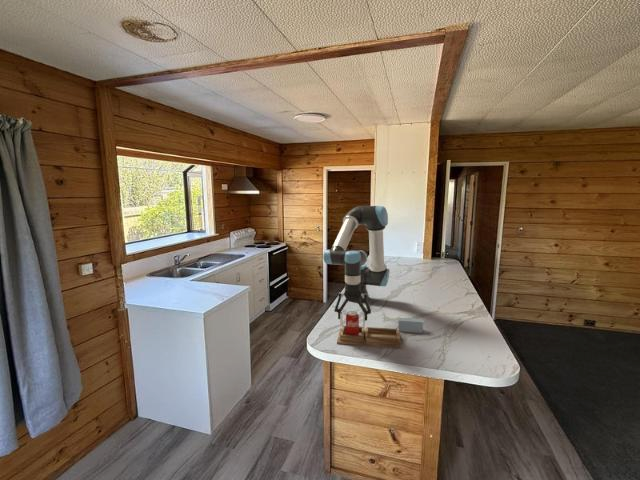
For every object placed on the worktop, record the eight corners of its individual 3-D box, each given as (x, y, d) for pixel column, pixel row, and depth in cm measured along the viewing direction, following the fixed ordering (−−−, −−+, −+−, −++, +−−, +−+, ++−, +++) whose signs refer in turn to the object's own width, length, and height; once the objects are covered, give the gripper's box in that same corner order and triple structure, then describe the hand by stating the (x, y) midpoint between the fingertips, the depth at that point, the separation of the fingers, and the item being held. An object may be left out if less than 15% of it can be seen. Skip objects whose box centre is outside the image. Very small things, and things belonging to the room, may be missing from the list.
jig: (340, 330, 165) (340, 324, 164) (398, 334, 160) (399, 327, 159) (336, 343, 152) (336, 336, 151) (400, 348, 146) (401, 341, 146)
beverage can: (349, 339, 153) (349, 316, 151) (343, 334, 159) (343, 311, 157) (361, 337, 155) (361, 314, 153) (354, 331, 161) (354, 309, 159)
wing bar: (398, 328, 168) (398, 317, 167) (421, 329, 165) (421, 318, 164) (398, 331, 164) (398, 320, 163) (422, 333, 162) (422, 322, 161)
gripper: (328, 284, 151) (328, 327, 154) (376, 286, 147) (376, 330, 150) (330, 279, 158) (330, 321, 162) (376, 281, 154) (376, 323, 158)
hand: (352, 325), depth 156 cm, fingers open, 10 cm apart
